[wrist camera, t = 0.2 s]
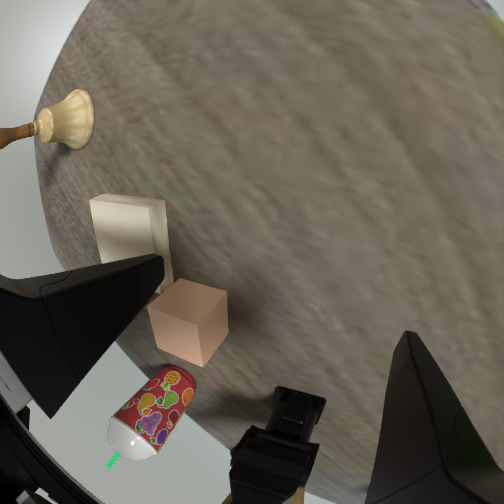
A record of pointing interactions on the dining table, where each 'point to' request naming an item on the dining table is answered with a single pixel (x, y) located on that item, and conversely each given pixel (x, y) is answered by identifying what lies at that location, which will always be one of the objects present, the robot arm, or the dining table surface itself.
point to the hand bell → (58, 123)
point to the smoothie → (150, 415)
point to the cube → (190, 320)
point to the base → (132, 230)
